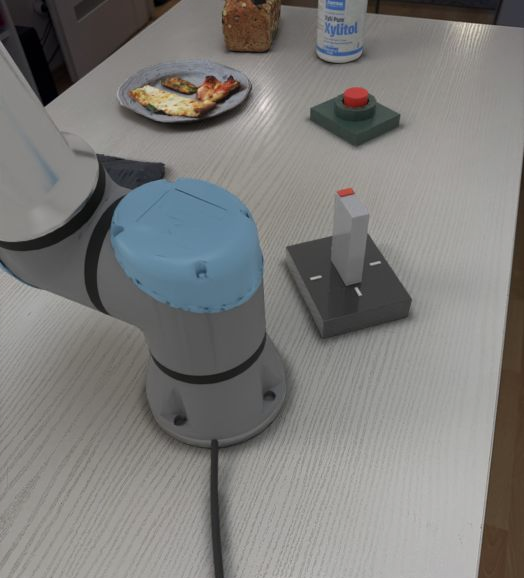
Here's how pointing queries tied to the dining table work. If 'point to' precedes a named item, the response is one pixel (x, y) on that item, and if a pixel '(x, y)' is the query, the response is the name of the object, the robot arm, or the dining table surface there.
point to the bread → (250, 24)
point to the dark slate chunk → (131, 171)
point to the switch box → (355, 119)
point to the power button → (355, 97)
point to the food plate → (184, 91)
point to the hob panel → (346, 288)
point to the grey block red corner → (349, 236)
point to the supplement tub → (340, 29)
